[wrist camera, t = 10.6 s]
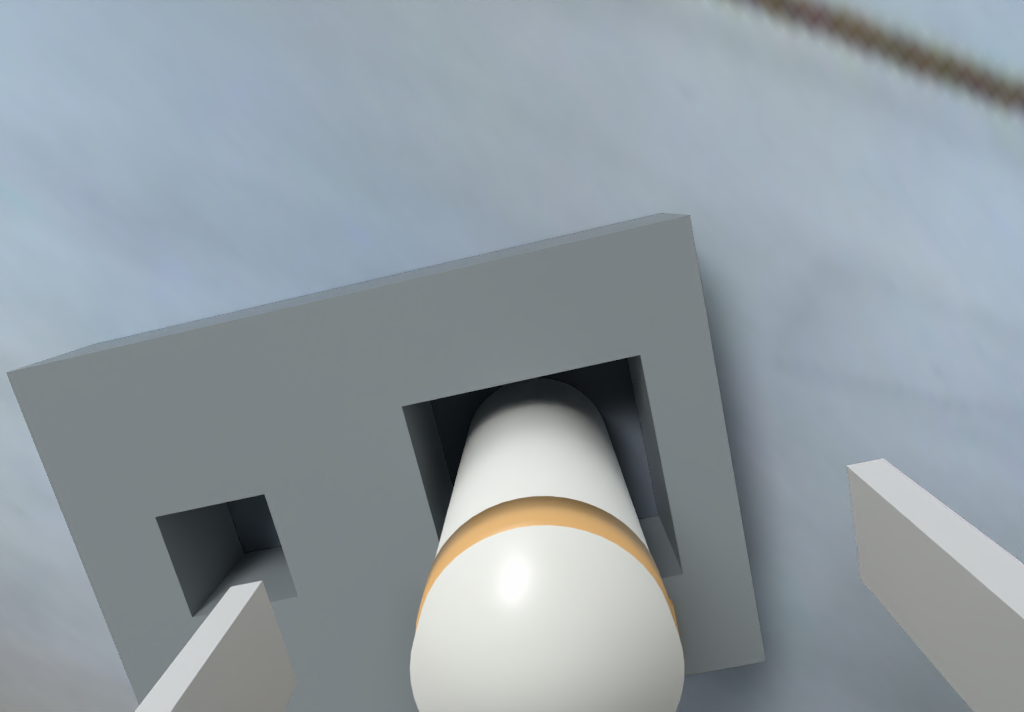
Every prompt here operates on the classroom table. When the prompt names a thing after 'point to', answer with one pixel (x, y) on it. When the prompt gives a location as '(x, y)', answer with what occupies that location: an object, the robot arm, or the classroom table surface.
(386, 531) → the fitting block
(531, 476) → the white banded cylinder
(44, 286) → the classroom table surface
